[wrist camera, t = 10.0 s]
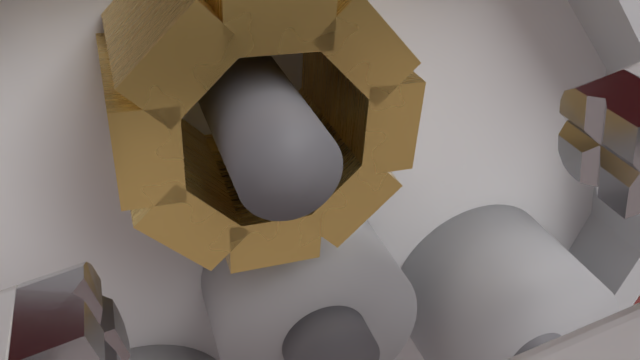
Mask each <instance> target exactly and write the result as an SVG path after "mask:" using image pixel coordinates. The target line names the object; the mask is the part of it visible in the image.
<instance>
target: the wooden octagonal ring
mask: <svg viewBox="0 0 640 360" xmlns="http://www.w3.org/2000/svg"><path fill="white" fill-rule="evenodd" d="M101 17H102V22H103V28H104V33H95V34H96V41H97V48H98V55H99V62H100V69H101V76H102V83H103V90H104V97H105V104H106V110H107V117H108V124H109V131H110V138H111V145H112V152H113V158H114V165H115V172H116V179H117V186H118V193H119V199H120V206H121V211H127V210H130V211H131V217H132V223H133V228H135V229H136V230H138V231H140V232H142V233H143V234H145V235H147V236H149V237H151V238H152V239H154V240H156V241H158V242H160V243H161V244H163V245H165V246H167V247H169V248H170V249H172V250H174V251H176V252H177V253H179V254H181V255H183V256H185V257H186V258H188V259H190V260H192V261H194V262H195V263H197V264H199V265H201V266H203V267H204V268H206V269H208V270H210V271H212V270H213V269H214V268H215V267H216V266H217V265H218V264H219V263H220V262H221V261H222V260H223V259H224V258H226V261H227V264H228V267H229V270H230V273H231V274H233V273H238V272H243V271H249V270H254V269H259V268H265V267H270V266H275V265H281V264H286V263H291V262H297V261H302V260H307V259H313V258H318V257H320V245H321V237H323V238H324V239H326V240H327V241H328V242H330V243H331V244H333V245H334V246H336V247H337V248H338V247H339V246H340V245H341V244H342V243H343V242H344V241H345V240H346V239H347V238H349V237H350V236H351V235H352V234H353V233H354V232H355V231H356V230H357V229H358V228H359V227H360V226H361V225H362V224H363V223H364V222H365V221H366V220H367V219H368V218H370V217H371V216H372V215H373V214H374V213H375V212H376V211H377V210H378V209H379V208H380V207H381V206H382V205H383V204H384V203H385V202H386V201H387V200H388V199H389V198H390V197H392V196H393V195H394V194H395V193H396V192H397V191H398V190H399V189H400V188H401V187H402V184H401V183H400V182H399V181H398V180H397V178H396V177H395V176H394V175H393V174H392V171H399V170H406V169H412V168H413V161H414V155H415V149H416V142H417V136H418V130H419V123H420V117H421V111H422V105H423V98H424V92H425V86H426V82H425V81H424V80H423V79H422V78H421V77H419V76H418V75H417V74H416V73H415V72H413V71H414V70H415V69H416V68H417V67H418V66H419V65H420V64H421V62H420V61H419V60H418V58H417V57H416V56H415V55H414V54H413V53H412V51H411V50H410V49H409V48H408V47H407V46H406V45H405V43H404V42H403V41H402V40H401V39H400V38H399V36H398V35H397V34H396V33H395V32H394V31H393V29H392V28H391V27H390V26H389V25H388V24H387V22H386V21H385V20H384V19H383V18H382V17H381V15H380V14H379V13H378V12H377V11H376V10H375V9H374V7H373V6H372V5H371V4H370V3H369V2H368V0H113V1H112V2H111V4H110V5H109V6H108V7H107V8H106V9H105V10H104V12H103V13H102V14H101ZM296 53H303V65H302V88H301V89H300V90H299V91H298V92H299V93H300V95H301V96H302V97H303V99H304V100H305V101H306V103H307V104H308V105H309V107H310V108H311V109H312V111H313V112H314V113H315V115H316V116H317V117H318V119H319V120H320V121H321V123H322V124H323V125H324V127H325V128H326V129H327V131H328V132H329V133H330V134H331V136H332V137H333V138H334V140H335V141H336V143H337V144H338V146H339V148H340V150H341V153H342V158H343V171H342V176H341V179H340V182H339V184H338V186H337V188H336V190H335V191H334V193H333V194H332V195H331V197H330V198H329V199H328V200H327V201H326V202H325V203H324V204H323V205H322V206H321V207H319V208H318V209H316V210H315V211H313V212H311V213H310V214H308V215H305V216H303V217H301V218H297V219H294V220H289V221H270V220H266V219H262V218H260V217H257V216H256V215H254V214H252V213H251V212H250V211H248V210H247V209H246V208H245V207H244V205H243V204H242V202H241V201H240V199H239V197H238V194H237V192H236V190H235V187H234V185H233V183H232V180H231V178H230V176H229V173H228V171H227V169H226V166H225V164H224V161H223V159H222V157H221V154H220V152H219V150H218V147H217V145H216V143H215V140H214V138H213V136H212V134H209V135H204V134H203V133H201V132H200V131H199V130H197V129H196V128H195V127H193V126H192V125H190V124H189V123H188V122H186V121H185V120H184V119H182V118H183V117H184V116H185V115H186V113H187V112H188V111H189V110H190V109H191V108H192V107H193V106H194V105H195V104H196V103H197V102H198V101H199V100H200V99H201V98H202V96H203V95H204V94H205V93H206V92H207V91H208V90H209V89H210V88H211V87H212V86H213V85H214V84H215V83H216V82H217V81H218V79H219V78H220V77H221V76H222V75H223V74H224V73H225V72H226V71H227V70H228V69H229V68H230V67H231V66H232V65H233V64H234V63H235V61H236V60H237V59H238V58H244V57H257V56H270V55H283V54H296Z"/></svg>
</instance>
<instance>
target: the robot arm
mask: <svg viewBox="0 0 640 360" xmlns="http://www.w3.org/2000/svg"><path fill="white" fill-rule="evenodd" d="M559 113H560V114H561V115H562V116H563V117H564V119H565V120H566V123H565V124H564V126H563V128H562V129H561V131H560V133H559V134H558V152H559V155H560V158H561V160H562V163H563V166H564V167H565V168H566V170H567V171H568V173H569V174H570V175H571V176H572V177H573V178H575V179H576V180H577V181H578V182H579V183H582V184H586V185H590V186H594V187H596V188H597V197H598V198H599V199H600V200H601V201H603V202H604V203H605V204H606V205H608V206H609V207H610V208H611V209H613V210H614V211H615V212H616V213H618V214H619V215H620V216H621V217H623V218H624V219H627V218H629V217H632V216H635V215H638V214H640V62H638V63H635V64H632V65H630V66H627V67H625V68H622V69H620V70H617V71H616V72H615V73H612V74H609V75H606V76H604V77H601V78H598V79H595V80H593V81H590V82H587V83H584V84H582V85H579V86H576V87H573V88H571V89H568V90H565V91H564V93H563V95H562V97H561V99H560V111H559ZM130 356H131V354H130V345H129V339H128V336H127V332H126V328H125V324H124V322H123V319H122V317H121V315H120V312H119V310H118V308H117V307H116V305H115V303H114V301H113V299H110V298H108V297H105V296H103V295H102V287H101V279H100V277H99V275H98V274H97V272H96V271H95V269H94V267H93V266H92V264H90V263H88V262H83V263H80V264H77V265H74V266H71V267H68V268H65V269H62V270H59V271H56V272H53V273H50V274H47V275H44V276H41V277H38V278H35V279H32V280H29V281H26V282H23V283H21V284H20V285H15V286H12V287H9V288H6V289H3V290H1V291H0V360H129V358H130ZM506 360H640V303H638V304H635V305H633V306H631V307H628V308H626V309H624V310H621V311H619V312H617V313H614V314H612V315H610V316H607V317H605V318H602V319H600V320H598V321H595V322H593V323H591V324H588V325H586V326H584V327H581V328H579V329H577V330H574V331H572V332H570V333H567V334H565V335H563V336H560V337H558V338H556V339H553V340H551V341H549V342H546V343H544V344H541V345H539V346H537V347H534V348H532V349H530V350H527V351H525V352H523V353H520V354H518V355H516V356H513V357H511V358H509V359H506Z"/></svg>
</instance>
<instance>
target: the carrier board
mask: <svg viewBox="0 0 640 360" xmlns="http://www.w3.org/2000/svg"><path fill="white" fill-rule="evenodd" d="M112 1H113V0H0V291H1V290H3V289H6V288H9V287H12V286H15V285H20V284H21V283H23V282H26V281H29V280H32V279H35V278H38V277H41V276H44V275H47V274H50V273H53V272H56V271H59V270H62V269H65V268H68V267H71V266H74V265H77V264H80V263H83V262H88V263H90V264H92V266H93V267H94V269H95V271H96V272H97V274H98V275H99V277H100V279H101V287H102V295H103V296H105V297H108V298H110V299H113V301H114V303H115V305H116V307H117V308H118V310H119V312H120V315H121V317H122V319H123V322H124V324H125V328H126V332H127V336H128V339H129V345H130V354H131V356H130V358H129V360H506V359H509V358H511V357H513V356H516V355H518V354H520V353H523V352H525V351H527V350H530V349H532V348H534V347H537V346H539V345H541V344H544V343H546V342H549V341H551V340H553V339H556V338H558V337H560V336H563V335H565V334H567V333H570V332H572V331H574V330H577V329H579V328H581V327H584V326H586V325H588V324H591V323H593V322H595V321H598V320H600V319H602V318H605V317H607V316H610V315H612V314H614V313H617V312H619V311H621V310H624V309H626V308H628V307H631V306H633V304H634V303H635V301H636V300H637V298H638V297H639V295H640V214H638V215H635V216H632V217H629V218H627V219H624V218H623V217H621V216H620V215H619V214H618V213H616V212H615V211H614V210H613V209H611V208H610V207H609V206H608V205H606V204H605V203H604V202H603V201H601V200H600V199H599V198H598V197H597V188H596V187H594V186H590V185H586V184H582V183H579V182H578V181H577V180H576V179H575V178H573V177H572V176H571V175H570V174H569V173H568V171H567V170H566V168H565V167H564V166H563V163H562V160H561V158H560V155H559V152H558V134H559V133H560V131H561V129H562V128H563V126H564V124H565V123H566V120H565V119H564V117H563V116H562V115H561V114H560V113H559V111H560V99H561V97H562V95H563V93H564V91H565V90H568V89H571V88H573V87H576V86H579V85H582V84H584V83H587V82H590V81H593V80H595V79H598V78H601V77H604V76H606V75H609V74H612V73H615V72H616V71H617V70H620V69H622V68H625V67H627V66H630V65H632V64H635V63H638V62H640V0H368V2H369V3H370V4H371V5H372V6H373V7H374V9H375V10H376V11H377V12H378V13H379V14H380V15H381V17H382V18H383V19H384V20H385V21H386V22H387V24H388V25H389V26H390V27H391V28H392V29H393V31H394V32H395V33H396V34H397V35H398V36H399V38H400V39H401V40H402V41H403V42H404V43H405V45H406V46H407V47H408V48H409V49H410V50H411V51H412V53H413V54H414V55H415V56H416V57H417V58H418V60H419V61H420V62H421V64H420V65H419V66H418V67H417V68H416V69H415V70H414V71H413V72H415V73H416V74H417V75H418V76H419V77H421V78H422V79H423V80H424V81H425V82H426V86H425V92H424V98H423V105H422V111H421V117H420V123H419V130H418V136H417V142H416V149H415V155H414V161H413V168H412V169H406V170H399V171H392V174H393V175H394V176H395V177H396V178H397V180H398V181H399V182H400V183H401V184H402V187H401V188H400V189H399V190H398V191H397V192H396V193H395V194H394V195H393V196H392V197H390V198H389V199H388V200H387V201H386V202H385V203H384V204H383V205H382V206H381V207H380V208H379V209H378V210H377V211H376V212H375V213H374V214H373V215H372V216H371V217H370V218H368V219H367V220H366V221H365V222H364V223H363V224H362V225H361V226H360V227H359V228H358V229H357V230H356V231H355V232H354V233H353V234H352V235H351V236H350V237H349V238H347V239H346V240H345V241H344V242H343V243H342V244H341V245H340V246H339V247H338V248H337V247H336V246H334V245H333V244H331V243H330V242H328V241H327V240H326V239H324V238H323V237H321V245H320V257H318V258H313V259H307V260H302V261H297V262H291V263H286V264H281V265H275V266H270V267H265V268H259V269H254V270H249V271H243V272H238V273H233V274H231V273H230V270H229V267H228V264H227V261H226V258H224V259H223V260H222V261H221V262H220V263H219V264H218V265H217V266H216V267H215V268H214V269H213V270H212V271H210V270H208V269H206V268H204V267H203V266H201V265H199V264H197V263H195V262H194V261H192V260H190V259H188V258H186V257H185V256H183V255H181V254H179V253H177V252H176V251H174V250H172V249H170V248H169V247H167V246H165V245H163V244H161V243H160V242H158V241H156V240H154V239H152V238H151V237H149V236H147V235H145V234H143V233H142V232H140V231H138V230H136V229H135V228H133V223H132V217H131V211H130V210H127V211H121V206H120V199H119V193H118V186H117V179H116V172H115V165H114V158H113V152H112V145H111V138H110V131H109V124H108V117H107V110H106V104H105V97H104V90H103V83H102V76H101V69H100V62H99V55H98V48H97V41H96V34H95V33H104V28H103V22H102V17H101V14H102V13H103V12H104V10H105V9H106V8H107V7H108V6H109V5H110V4H111V2H112ZM302 65H303V53H296V54H283V55H270V56H257V57H244V58H238V59H237V60H236V61H235V63H234V64H233V65H232V66H231V67H230V68H229V69H228V70H227V71H226V72H225V73H224V74H223V75H222V76H221V77H220V78H219V79H218V81H217V82H216V83H215V84H214V85H213V86H212V87H211V88H210V89H209V90H208V91H207V92H206V93H205V94H204V95H203V96H202V98H201V99H200V100H199V101H198V102H197V103H196V104H195V105H194V106H193V107H192V108H191V109H190V110H189V111H188V112H187V113H186V115H185V116H184V117H183V118H182V119H184V120H185V121H186V122H188V123H189V124H190V125H192V126H193V127H195V128H196V129H197V130H199V131H200V132H201V133H203V134H204V135H209V134H212V136H213V138H214V140H215V143H216V145H217V147H218V150H219V152H220V154H221V157H222V159H223V161H224V164H225V166H226V169H227V171H228V173H229V176H230V178H231V180H232V183H233V185H234V187H235V190H236V192H237V194H238V197H239V199H240V201H241V202H242V204H243V205H244V207H245V208H246V209H247V210H248V211H250V212H251V213H252V214H254V215H256V216H257V217H260V218H262V219H266V220H270V221H289V220H294V219H297V218H301V217H303V216H305V215H308V214H310V213H311V212H313V211H315V210H316V209H318V208H319V207H321V206H322V205H323V204H324V203H325V202H326V201H327V200H328V199H329V198H330V197H331V195H332V194H333V193H334V191H335V190H336V188H337V186H338V184H339V182H340V179H341V176H342V171H343V158H342V153H341V150H340V148H339V146H338V144H337V143H336V141H335V140H334V138H333V137H332V136H331V134H330V133H329V132H328V131H327V129H326V128H325V127H324V125H323V124H322V123H321V121H320V120H319V119H318V117H317V116H316V115H315V113H314V112H313V111H312V109H311V108H310V107H309V105H308V104H307V103H306V101H305V100H304V99H303V97H302V96H301V95H300V93H299V92H298V91H299V90H300V89H301V88H302Z"/></svg>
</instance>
